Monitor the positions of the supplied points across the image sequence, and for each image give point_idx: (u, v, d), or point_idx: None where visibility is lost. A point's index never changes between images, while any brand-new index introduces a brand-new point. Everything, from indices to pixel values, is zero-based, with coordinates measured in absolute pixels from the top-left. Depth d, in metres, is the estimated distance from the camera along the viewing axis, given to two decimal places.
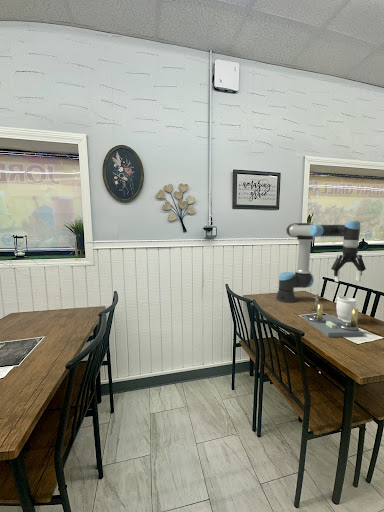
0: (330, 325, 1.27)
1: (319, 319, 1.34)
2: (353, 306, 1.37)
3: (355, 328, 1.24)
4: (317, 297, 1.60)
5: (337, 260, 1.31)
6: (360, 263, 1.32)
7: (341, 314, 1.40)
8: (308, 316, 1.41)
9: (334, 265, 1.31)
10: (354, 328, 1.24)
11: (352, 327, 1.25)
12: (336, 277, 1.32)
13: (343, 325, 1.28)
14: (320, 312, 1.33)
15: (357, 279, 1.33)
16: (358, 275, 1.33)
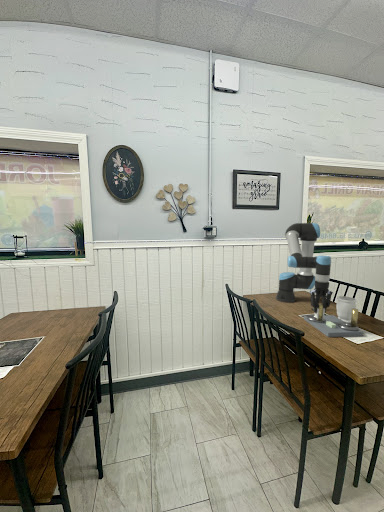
0: (330, 325, 1.27)
1: (319, 319, 1.34)
2: (353, 306, 1.37)
3: (355, 328, 1.24)
4: None
5: (312, 297, 1.33)
6: (327, 299, 1.34)
7: (341, 314, 1.40)
8: (308, 316, 1.41)
9: (312, 302, 1.33)
10: (354, 328, 1.24)
11: (352, 327, 1.25)
12: (316, 314, 1.34)
13: (343, 325, 1.28)
14: (320, 312, 1.33)
15: None
16: (322, 312, 1.34)
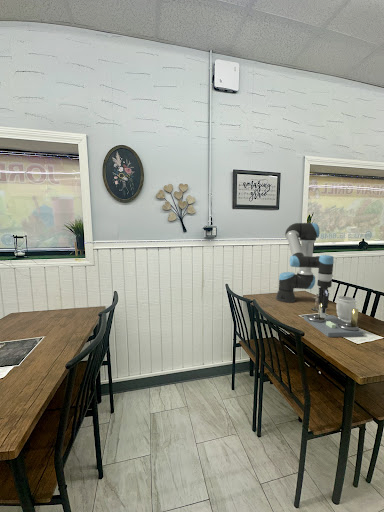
0: (330, 325, 1.27)
1: None
2: (353, 306, 1.37)
3: (355, 328, 1.24)
4: (317, 297, 1.60)
5: (326, 298, 1.30)
6: None
7: (341, 314, 1.40)
8: (312, 319, 1.36)
9: (325, 304, 1.31)
10: (354, 328, 1.24)
11: (352, 327, 1.25)
12: (323, 313, 1.35)
13: (343, 325, 1.28)
14: None
15: None
16: None
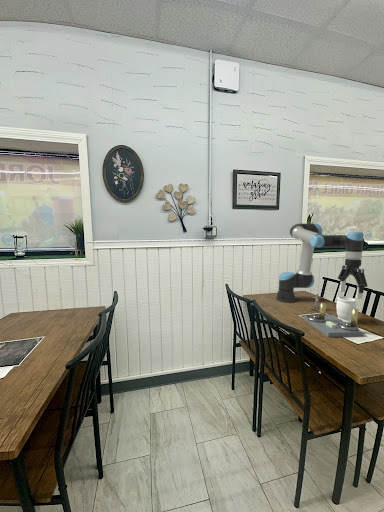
0: (330, 325, 1.27)
1: (324, 317, 1.36)
2: (353, 306, 1.37)
3: (355, 328, 1.24)
4: (317, 297, 1.60)
5: (362, 275, 1.18)
6: (343, 273, 1.32)
7: (341, 314, 1.40)
8: (312, 319, 1.36)
9: (364, 281, 1.16)
10: (354, 328, 1.24)
11: (352, 327, 1.25)
12: (360, 294, 1.19)
13: (343, 325, 1.28)
14: None
15: (343, 290, 1.33)
16: (344, 286, 1.33)
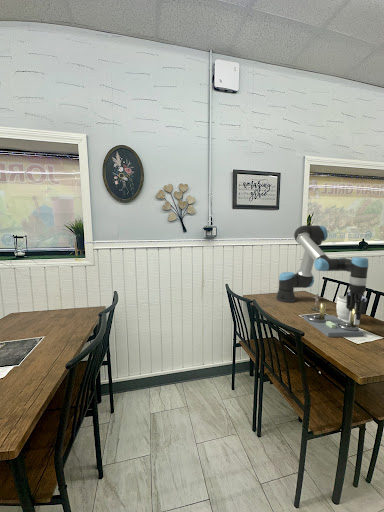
0: (330, 325, 1.27)
1: (324, 317, 1.36)
2: None
3: (355, 328, 1.24)
4: (317, 297, 1.60)
5: (364, 304, 1.20)
6: None
7: (341, 314, 1.40)
8: (312, 319, 1.36)
9: (363, 310, 1.21)
10: (354, 328, 1.24)
11: (352, 327, 1.25)
12: (357, 320, 1.25)
13: (343, 325, 1.28)
14: None
15: None
16: None
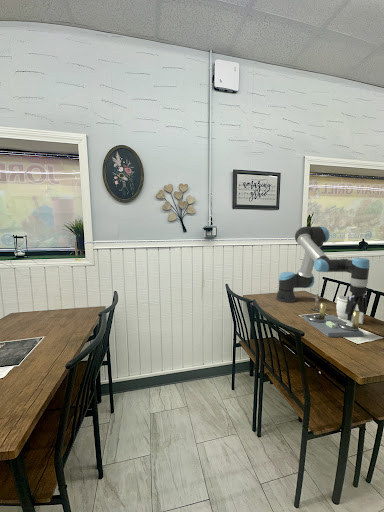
0: (330, 325, 1.27)
1: (324, 317, 1.36)
2: None
3: (347, 328, 1.24)
4: (317, 297, 1.60)
5: (349, 303, 1.19)
6: (363, 303, 1.25)
7: (341, 314, 1.40)
8: (312, 319, 1.36)
9: (348, 309, 1.20)
10: (346, 327, 1.25)
11: (348, 327, 1.25)
12: (349, 321, 1.22)
13: (343, 324, 1.30)
14: None
15: (359, 321, 1.25)
16: (360, 317, 1.25)
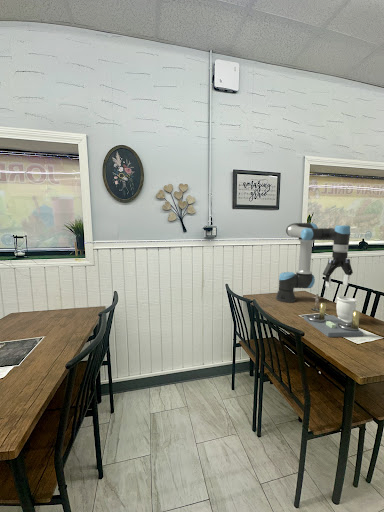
0: (330, 325, 1.27)
1: (324, 317, 1.36)
2: (353, 306, 1.37)
3: (347, 328, 1.24)
4: (317, 297, 1.60)
5: (328, 265, 1.28)
6: (348, 267, 1.32)
7: (341, 314, 1.40)
8: (312, 319, 1.36)
9: (326, 270, 1.29)
10: (346, 327, 1.25)
11: (348, 327, 1.25)
12: (327, 282, 1.30)
13: (343, 324, 1.30)
14: None
15: (345, 283, 1.34)
16: (346, 279, 1.33)
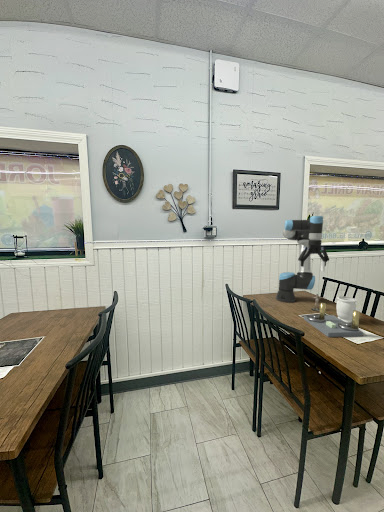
0: (330, 325, 1.27)
1: (324, 317, 1.36)
2: (353, 306, 1.37)
3: (347, 328, 1.24)
4: (317, 297, 1.60)
5: (303, 252, 1.44)
6: (324, 254, 1.45)
7: (341, 314, 1.40)
8: (312, 319, 1.36)
9: (300, 256, 1.44)
10: (346, 327, 1.25)
11: (348, 327, 1.25)
12: (302, 267, 1.45)
13: (343, 324, 1.30)
14: None
15: (322, 269, 1.46)
16: (322, 265, 1.46)
